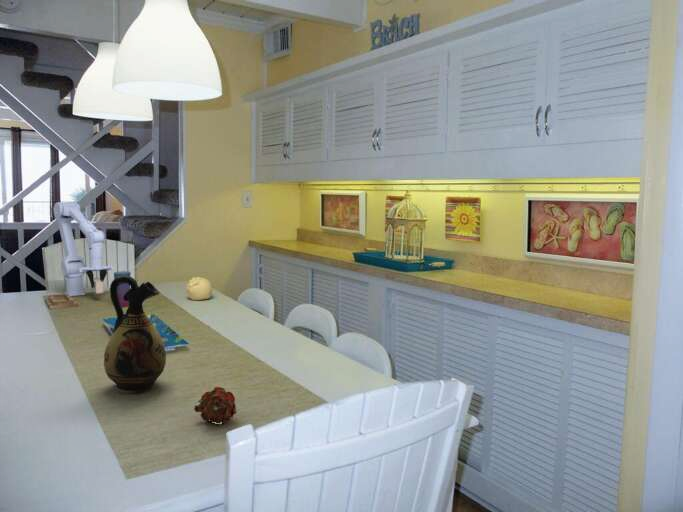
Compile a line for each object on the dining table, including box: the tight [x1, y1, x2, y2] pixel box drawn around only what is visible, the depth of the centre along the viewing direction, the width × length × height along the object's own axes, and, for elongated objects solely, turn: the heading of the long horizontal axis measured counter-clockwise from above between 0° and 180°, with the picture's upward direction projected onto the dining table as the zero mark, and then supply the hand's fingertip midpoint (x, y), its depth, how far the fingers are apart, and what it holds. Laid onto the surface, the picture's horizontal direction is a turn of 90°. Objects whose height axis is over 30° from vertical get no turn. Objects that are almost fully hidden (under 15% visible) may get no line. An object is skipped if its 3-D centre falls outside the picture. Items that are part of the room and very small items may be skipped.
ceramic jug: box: [103, 275, 167, 395], centre depth 143 cm, size 17×15×30 cm
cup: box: [113, 270, 131, 308], centre depth 238 cm, size 7×7×15 cm
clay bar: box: [90, 277, 104, 294], centre depth 250 cm, size 12×3×5 cm, turn 34°
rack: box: [44, 293, 79, 310], centre depth 241 cm, size 18×11×2 cm, turn 34°
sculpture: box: [185, 276, 213, 301], centre depth 257 cm, size 12×12×11 cm
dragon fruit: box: [193, 386, 237, 424], centre depth 126 cm, size 8×8×12 cm
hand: (96, 286), depth 250 cm, fingers closed on clay bar, 3 cm apart
